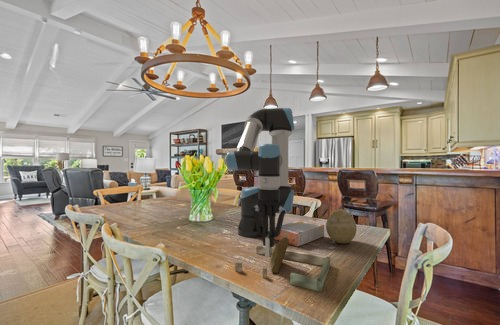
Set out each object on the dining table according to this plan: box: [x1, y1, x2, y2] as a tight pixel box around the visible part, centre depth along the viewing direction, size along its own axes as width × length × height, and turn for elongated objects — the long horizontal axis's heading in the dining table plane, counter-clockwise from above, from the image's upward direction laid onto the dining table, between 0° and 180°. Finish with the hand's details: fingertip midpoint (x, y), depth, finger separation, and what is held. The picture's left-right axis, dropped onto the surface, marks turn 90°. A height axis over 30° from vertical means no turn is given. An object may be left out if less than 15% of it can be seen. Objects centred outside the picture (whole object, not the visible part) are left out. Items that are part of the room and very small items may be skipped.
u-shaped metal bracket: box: [234, 244, 331, 292], centre depth 81 cm, size 28×18×3 cm, turn 63°
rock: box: [268, 237, 290, 274], centre depth 82 cm, size 11×9×10 cm
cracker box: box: [275, 219, 325, 247], centre depth 112 cm, size 14×6×21 cm
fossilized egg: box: [325, 208, 358, 244], centre depth 105 cm, size 13×13×15 cm
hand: (268, 255), depth 83 cm, fingers closed
